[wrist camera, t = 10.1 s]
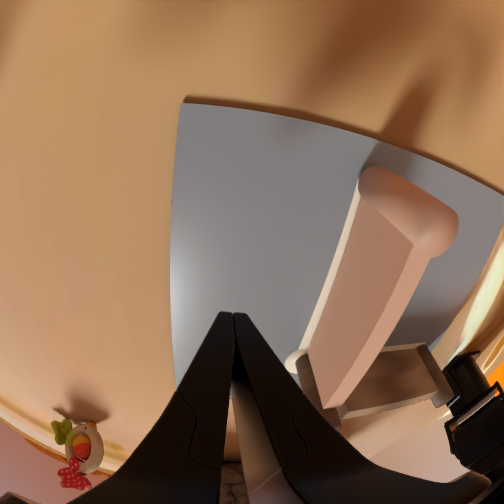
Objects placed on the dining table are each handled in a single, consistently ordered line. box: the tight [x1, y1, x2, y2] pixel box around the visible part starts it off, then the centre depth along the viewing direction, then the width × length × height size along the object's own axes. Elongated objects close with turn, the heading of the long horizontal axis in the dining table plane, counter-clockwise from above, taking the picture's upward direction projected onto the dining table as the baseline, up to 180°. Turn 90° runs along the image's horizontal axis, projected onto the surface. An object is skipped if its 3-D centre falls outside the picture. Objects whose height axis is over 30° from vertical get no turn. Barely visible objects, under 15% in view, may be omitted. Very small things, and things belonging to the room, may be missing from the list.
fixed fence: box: [295, 344, 454, 431], centre depth 18 cm, size 14×2×6 cm, turn 81°
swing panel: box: [307, 165, 459, 409], centre depth 13 cm, size 13×2×5 cm, turn 172°
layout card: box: [170, 103, 504, 399], centre depth 18 cm, size 24×22×1 cm
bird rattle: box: [51, 418, 104, 490], centre depth 22 cm, size 6×11×9 cm
